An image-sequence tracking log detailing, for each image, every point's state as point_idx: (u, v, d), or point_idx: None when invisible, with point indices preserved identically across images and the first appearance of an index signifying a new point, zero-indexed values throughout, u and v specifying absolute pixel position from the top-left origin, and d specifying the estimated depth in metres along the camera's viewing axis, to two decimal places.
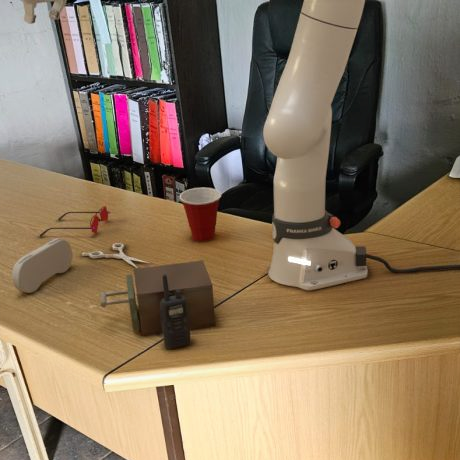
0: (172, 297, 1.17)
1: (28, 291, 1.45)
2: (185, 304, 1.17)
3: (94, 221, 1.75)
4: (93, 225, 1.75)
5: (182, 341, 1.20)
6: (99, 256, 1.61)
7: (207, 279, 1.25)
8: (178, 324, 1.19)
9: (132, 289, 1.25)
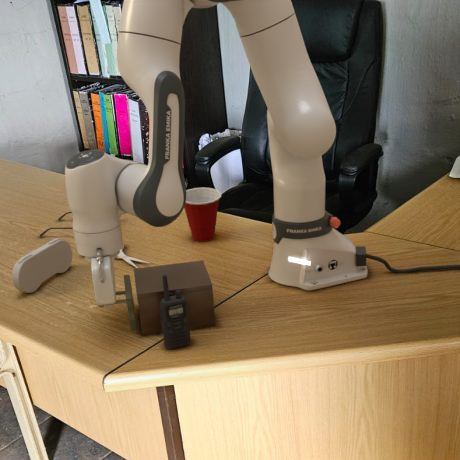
0: (172, 297, 1.17)
1: (28, 291, 1.45)
2: (185, 304, 1.17)
3: None
4: None
5: (182, 341, 1.20)
6: None
7: (207, 279, 1.25)
8: (178, 324, 1.19)
9: (130, 289, 1.25)
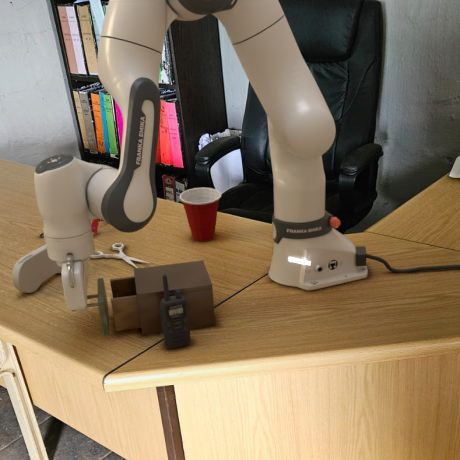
0: (172, 297, 1.17)
1: (28, 291, 1.45)
2: (185, 304, 1.17)
3: (94, 221, 1.75)
4: (93, 225, 1.75)
5: (182, 341, 1.20)
6: (99, 256, 1.61)
7: (207, 279, 1.25)
8: (178, 324, 1.19)
9: (102, 293, 1.25)
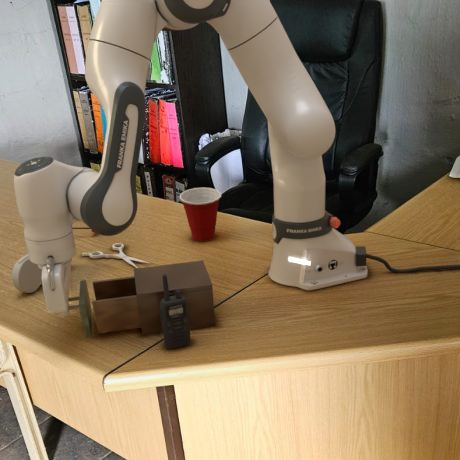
0: (172, 297, 1.17)
1: (28, 291, 1.45)
2: (185, 304, 1.17)
3: None
4: None
5: (182, 341, 1.20)
6: (99, 256, 1.61)
7: (207, 279, 1.25)
8: (178, 324, 1.19)
9: (84, 295, 1.24)
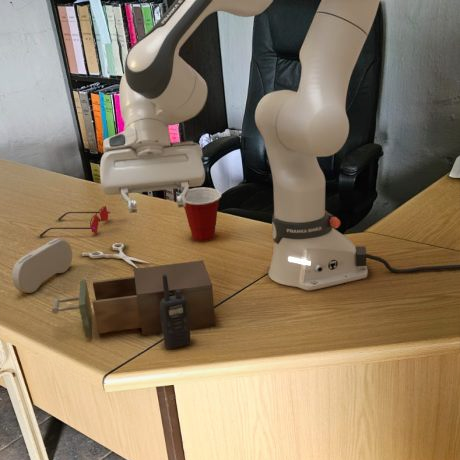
0: (172, 297, 1.17)
1: (28, 291, 1.45)
2: (185, 304, 1.17)
3: (94, 221, 1.75)
4: (93, 225, 1.75)
5: (182, 341, 1.20)
6: (99, 256, 1.61)
7: (207, 279, 1.25)
8: (178, 324, 1.19)
9: (84, 295, 1.24)
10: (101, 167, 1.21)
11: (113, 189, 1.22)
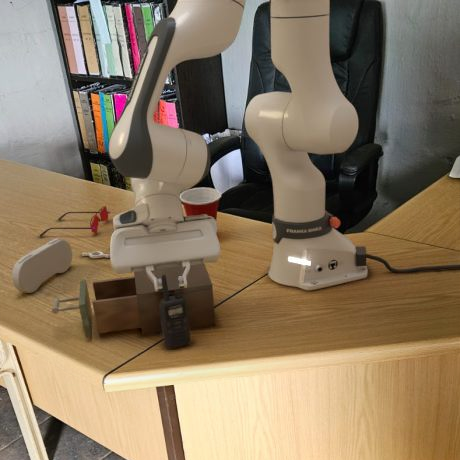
0: (171, 297, 1.17)
1: (28, 291, 1.45)
2: (184, 304, 1.17)
3: (94, 221, 1.75)
4: (93, 225, 1.75)
5: (181, 341, 1.20)
6: (99, 256, 1.61)
7: (207, 279, 1.25)
8: (178, 324, 1.18)
9: (84, 295, 1.24)
10: (111, 246, 1.15)
11: (124, 268, 1.15)
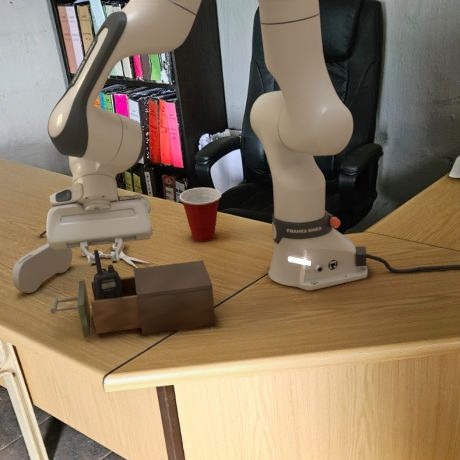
0: (105, 272, 1.24)
1: (28, 291, 1.45)
2: (117, 278, 1.24)
3: None
4: None
5: None
6: (99, 256, 1.61)
7: (207, 279, 1.25)
8: (111, 297, 1.25)
9: (82, 295, 1.24)
10: (47, 222, 1.22)
11: (60, 244, 1.22)
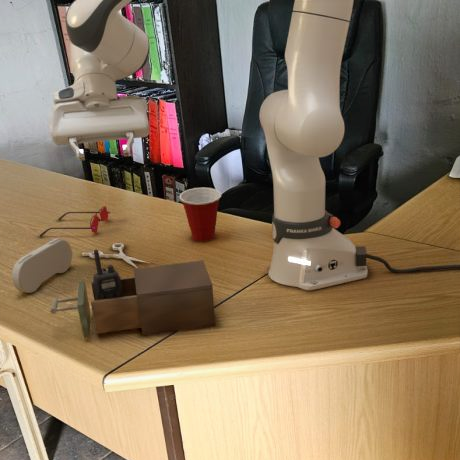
0: (105, 272, 1.24)
1: (28, 291, 1.45)
2: (117, 278, 1.24)
3: (94, 221, 1.75)
4: (93, 225, 1.75)
5: None
6: (99, 256, 1.61)
7: (207, 279, 1.25)
8: (111, 297, 1.25)
9: (82, 295, 1.24)
10: (51, 118, 1.30)
11: (62, 138, 1.31)
